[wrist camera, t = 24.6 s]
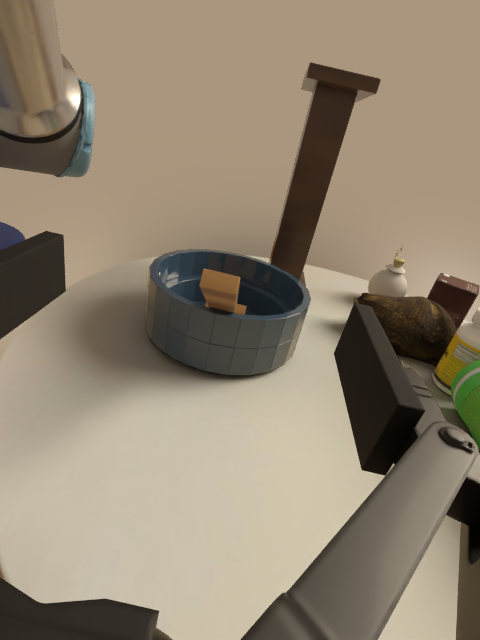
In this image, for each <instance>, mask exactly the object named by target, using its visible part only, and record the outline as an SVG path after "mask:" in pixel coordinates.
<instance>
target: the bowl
mask: <svg viewBox="0 0 480 640" xmlns="http://www.w3.org/2000/svg"><path fill="white" fill-rule="evenodd" d="M203 269H208V270H212V271H217V272H221V273H225V274H229V275H234V276H238V277H240V284H239V292H238V300H237V304H240V305H244V306H246V311H245V315H242V314H235V313H229V312H224V311H219V310H215V309H212V308H209V307H206V306H205V304H206V300H205V297H204V295H203V293H202V291H201V289H200V286H199V285H200V281H201V277H202V273H203ZM310 300H311V297H310V294H309V292H308V289H307V288H306V287H305V286H304V285H303V284H302V282H301V281H299V280H298V279H297V278H295V277H294V276H293V275H291V274H290V273H288V272H286V271H284V270H282V269H280V268H278V267H276V266H274V265H272V264H269V263H267V262H264V261H262V260H259V259H255V258H252V257H248V256H245V255H241V254H235V253H231V252H226V251H217V250H206V249H189V250H179V251H173V252H170V253H166V254H163V255H161V256H160V257H158V258H156V259H155V260H154V261H153V262H152V264H151V265H150V267H149V278H148V290H147V302H146V313H145V329H146V331H147V333H148V335H149V337H150V339H151V340H152V342H153V343H154V344H155V345H157V346H158V347H159V348H160V349H161V350H162V351H163V352H164V353H165V354H167V355H169V356H171V357H172V358H174V359H176V360H178V361H179V362H181V363H183V364H186V365H189V366H192V367H195V368H197V369H200V370H203V371H208V372H213V373H219V374H225V375H254V374H259V373H264V372H269V371H272V370H274V369H276V368H278V367H280V366H282V365H284V364H285V363H286V362H287V361H288V360H289V359H290V358H291V357H292V355H293V352H294V349H295V346H296V343H297V340H298V337H299V334H300V331H301V328H302V325H303V322H304V319H305V316H306V313H307V310H308V307H309V304H310Z"/></svg>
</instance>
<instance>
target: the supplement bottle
mask: <svg viewBox="0 0 480 640" xmlns="http://www.w3.org/2000/svg"><path fill="white" fill-rule="evenodd" d="M472 322H473V323H468V324H464V325H462V326H460V327H459V328H458V330H457V331H456V333H455V335H454V337H453V339H452V340H451V342H450V344H449V346H448V348H447V349H446V351H445V353H444V355H443V356H442V358H441V360H440V362H439V363H438V365H437V367H436V369H435V370H434V372H433V375H432V378H433V381H434V383H435V384H436V385H437V386H438V387H439V388H440V389H441V390H443V391H444V392H445V393H447V394H449V395H451V396H452V393H451V385H452V382H453V379H454V377H455V376H456V375H457V373H458V372H459V371H460V370H462V369H463V368H464V367H465V366H467V365H469V364H471V363H473V362H475V361H478V360H480V308H478V309H477V311H476V312H475V314H474V316H473V318H472Z"/></svg>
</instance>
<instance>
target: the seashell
mask: <svg viewBox="0 0 480 640" xmlns="http://www.w3.org/2000/svg"><path fill="white" fill-rule="evenodd" d="M354 300H355V302H354V303H358V304H362V305H367V306H371V307H372V309H373V311H374V312H375V314H376V316H377V318H378V320H379V322H380V324H381V326H382V328H383V330H384V332H385V334H386V336H387V338H388V340H389V341H390V343H391V345H392V347H393V349H394V351H395V353H399V354H403V355H407V356H411V357H414V358H417V359H421V360H424V361H426V362H429V363H432V364H435V365H438V363H439V362H440V360H441V358H442V356H443V355H444V353H445V351H446V349H447V348H448V346H449V344H450V342H451V340H452V339H453V337H454V335H455V333H456V331H457V328H456V326H455V324H454V322H453V320H452V319H451V317H450V315H449V314H448V313H447V312H446V311H445V310H444V309H443V308H442V307H441V306H440V305H439V304H438V303H436V302H434V301H432V300H429V299H427V298H425V297H392V296H385V295H378V294H375V295H374V294H369V293H362V296H360V297H359V298H358V299H354Z"/></svg>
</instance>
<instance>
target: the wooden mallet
mask: <svg viewBox="0 0 480 640" xmlns="http://www.w3.org/2000/svg"><path fill="white" fill-rule="evenodd" d="M239 284H240V277H238V276H234V275H229V274H225V273H221V272H217V271H212V270H208V269H203V273H202V277H201V281H200V285H199V286H200V289H201V291H202V293H203V295H204V297H205V300H206V304H205V306H206V307H209V308H212V309H215V310H219V311H224V312H229V313H235V314H242V315H245V311H246V306H244V305H240V304H237V300H238V292H239Z"/></svg>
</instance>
